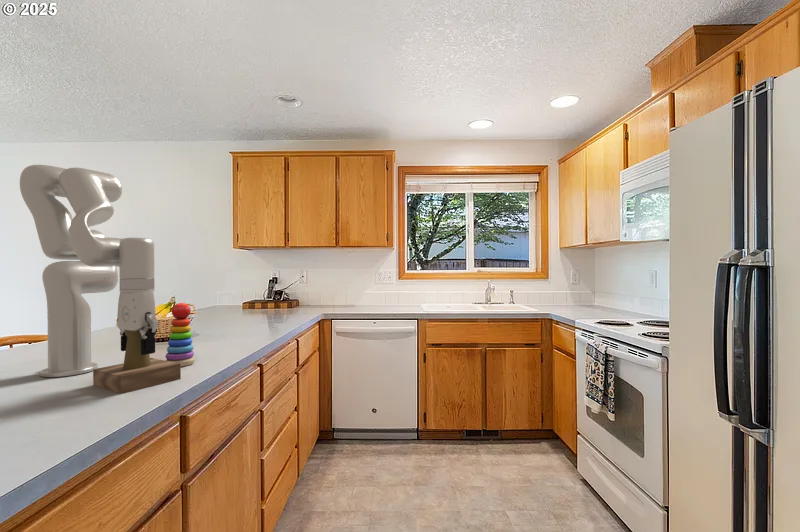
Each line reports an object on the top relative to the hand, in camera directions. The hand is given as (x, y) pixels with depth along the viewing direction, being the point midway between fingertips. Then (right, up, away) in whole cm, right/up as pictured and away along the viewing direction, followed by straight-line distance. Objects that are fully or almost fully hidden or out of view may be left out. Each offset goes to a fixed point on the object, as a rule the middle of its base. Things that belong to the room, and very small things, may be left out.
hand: (137, 351), depth 101 cm
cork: (0, -4, 0) cm, 4 cm away
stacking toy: (+1, -8, +18) cm, 20 cm away
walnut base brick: (0, -8, 0) cm, 8 cm away
